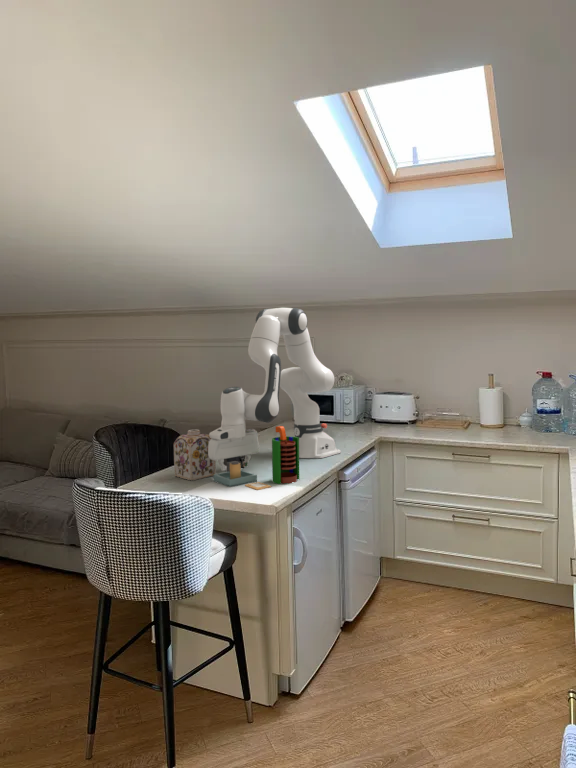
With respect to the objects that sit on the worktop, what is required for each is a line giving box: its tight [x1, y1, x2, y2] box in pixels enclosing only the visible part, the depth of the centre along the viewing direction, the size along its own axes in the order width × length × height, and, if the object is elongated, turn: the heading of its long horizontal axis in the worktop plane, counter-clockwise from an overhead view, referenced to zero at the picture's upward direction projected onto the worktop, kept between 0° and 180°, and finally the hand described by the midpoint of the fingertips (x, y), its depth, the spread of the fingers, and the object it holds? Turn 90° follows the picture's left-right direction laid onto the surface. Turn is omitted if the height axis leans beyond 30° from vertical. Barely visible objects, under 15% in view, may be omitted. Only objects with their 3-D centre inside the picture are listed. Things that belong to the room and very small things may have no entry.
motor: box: [271, 425, 300, 485], centre depth 218 cm, size 10×9×20 cm
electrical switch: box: [223, 455, 246, 469], centre depth 240 cm, size 9×5×9 cm, turn 113°
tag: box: [244, 481, 272, 491], centre depth 212 cm, size 6×8×1 cm
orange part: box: [230, 461, 242, 479], centre depth 220 cm, size 4×4×7 cm
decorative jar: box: [173, 429, 217, 481], centre depth 230 cm, size 12×12×18 cm
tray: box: [213, 469, 258, 488], centre depth 220 cm, size 12×12×2 cm
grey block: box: [226, 461, 241, 472], centre depth 230 cm, size 4×4×5 cm
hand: (234, 468), depth 220 cm, fingers open, 8 cm apart
